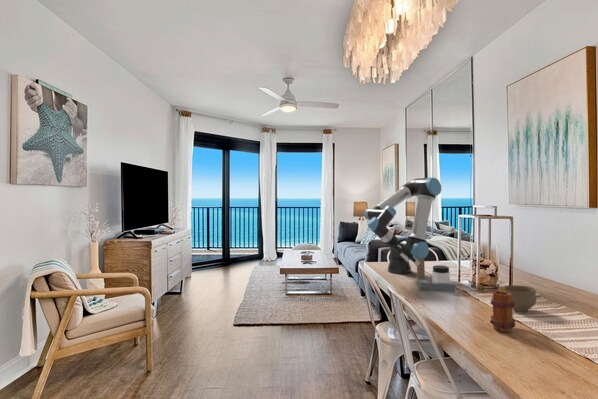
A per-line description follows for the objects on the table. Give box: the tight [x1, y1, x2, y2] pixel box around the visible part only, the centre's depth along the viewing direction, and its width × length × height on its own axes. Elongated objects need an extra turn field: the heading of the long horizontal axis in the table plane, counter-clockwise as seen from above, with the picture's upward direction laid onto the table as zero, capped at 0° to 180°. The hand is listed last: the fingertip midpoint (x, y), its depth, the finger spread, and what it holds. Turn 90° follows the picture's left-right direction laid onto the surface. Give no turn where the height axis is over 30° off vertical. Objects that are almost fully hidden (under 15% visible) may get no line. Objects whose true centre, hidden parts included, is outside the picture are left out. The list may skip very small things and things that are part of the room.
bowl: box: [504, 284, 537, 312], centre depth 147 cm, size 13×13×10 cm
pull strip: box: [415, 258, 456, 293], centre depth 189 cm, size 26×18×12 cm
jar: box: [431, 264, 451, 284], centre depth 182 cm, size 9×8×12 cm
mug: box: [489, 285, 516, 333], centre depth 128 cm, size 15×8×15 cm, turn 148°
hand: (413, 262), depth 201 cm, fingers open, 13 cm apart
